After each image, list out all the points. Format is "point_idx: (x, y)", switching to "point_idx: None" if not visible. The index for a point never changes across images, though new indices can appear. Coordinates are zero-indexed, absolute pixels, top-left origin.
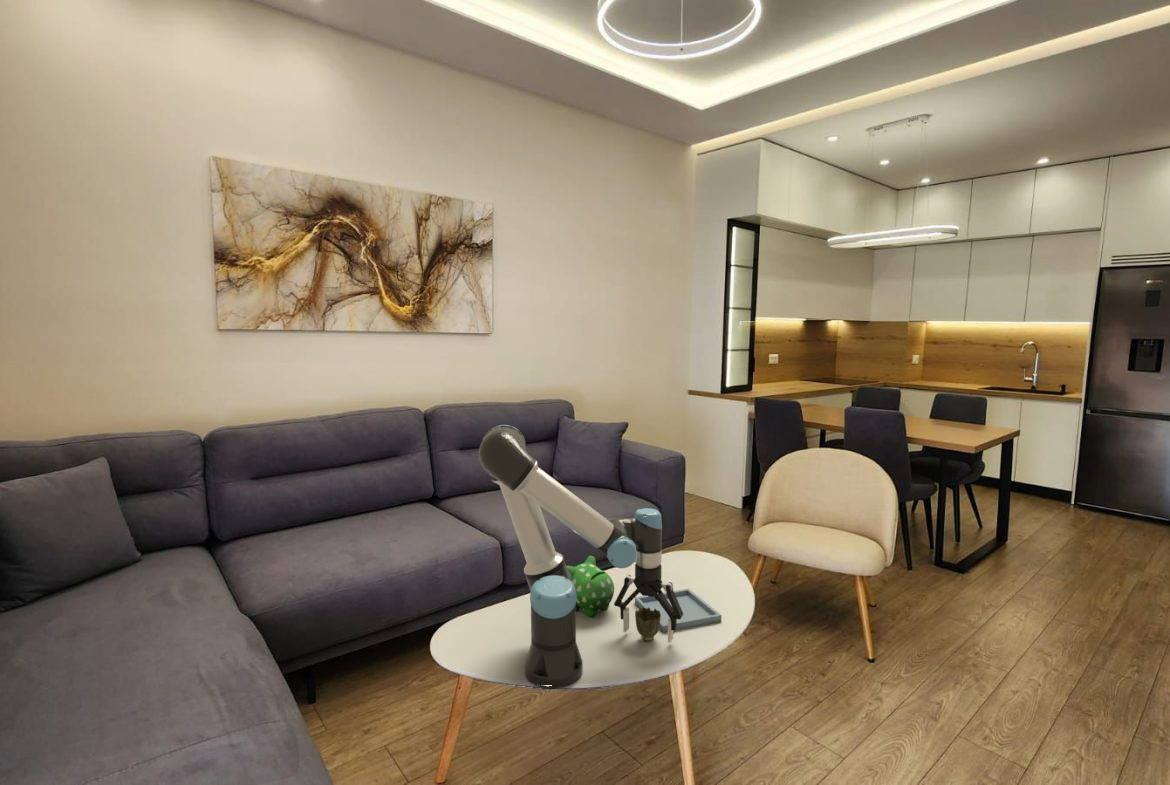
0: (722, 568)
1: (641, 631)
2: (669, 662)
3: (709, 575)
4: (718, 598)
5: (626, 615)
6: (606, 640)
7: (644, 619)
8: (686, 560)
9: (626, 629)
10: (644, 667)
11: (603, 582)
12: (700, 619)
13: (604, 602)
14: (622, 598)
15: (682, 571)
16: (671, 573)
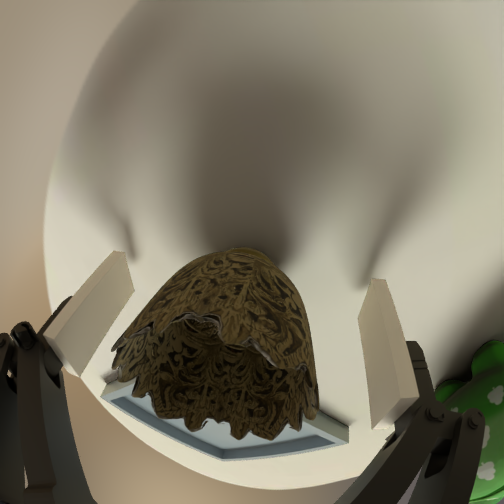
0: (208, 473)
1: (251, 264)
2: (80, 116)
3: (217, 469)
4: (165, 437)
5: (388, 369)
6: (458, 200)
7: (269, 372)
8: (268, 484)
9: (371, 295)
10: (166, 5)
11: (481, 480)
12: (122, 387)
13: (469, 406)
14: (425, 474)
15: (265, 476)
16: (283, 474)
